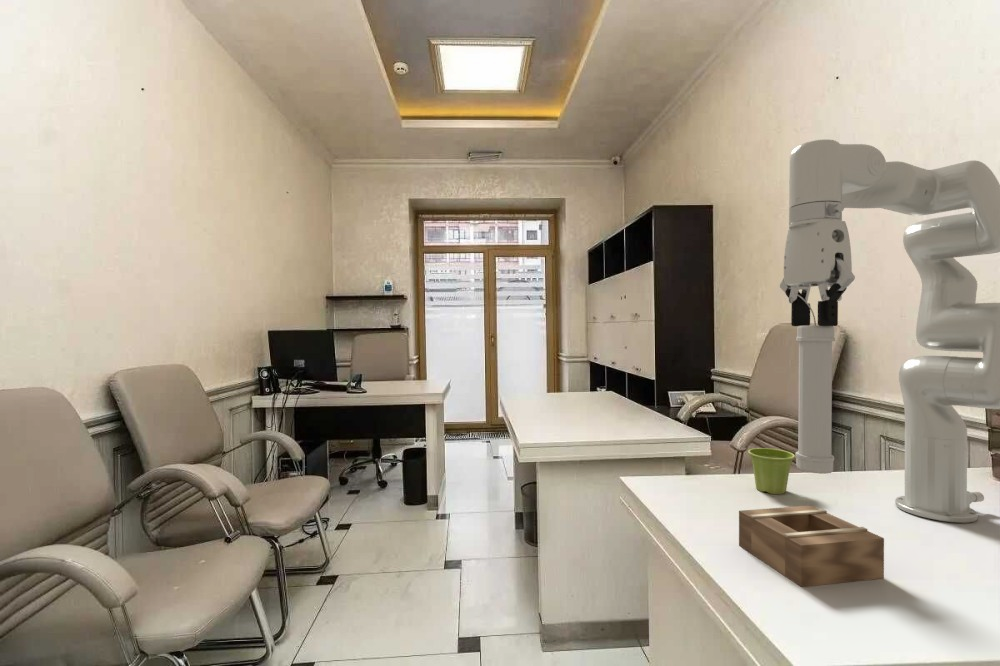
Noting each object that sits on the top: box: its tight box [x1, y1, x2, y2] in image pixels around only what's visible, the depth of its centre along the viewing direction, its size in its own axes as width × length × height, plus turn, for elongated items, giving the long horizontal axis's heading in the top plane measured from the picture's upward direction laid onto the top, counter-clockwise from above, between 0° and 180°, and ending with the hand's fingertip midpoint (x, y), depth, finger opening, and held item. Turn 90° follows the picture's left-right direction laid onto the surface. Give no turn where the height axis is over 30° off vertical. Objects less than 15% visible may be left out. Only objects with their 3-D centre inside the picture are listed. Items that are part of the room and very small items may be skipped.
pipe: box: [793, 292, 836, 475], centre depth 84 cm, size 6×6×30 cm
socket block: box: [738, 505, 885, 588], centre depth 80 cm, size 14×14×6 cm
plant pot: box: [747, 447, 796, 495], centre depth 115 cm, size 9×9×9 cm
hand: (813, 324), depth 84 cm, fingers closed on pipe, 5 cm apart
